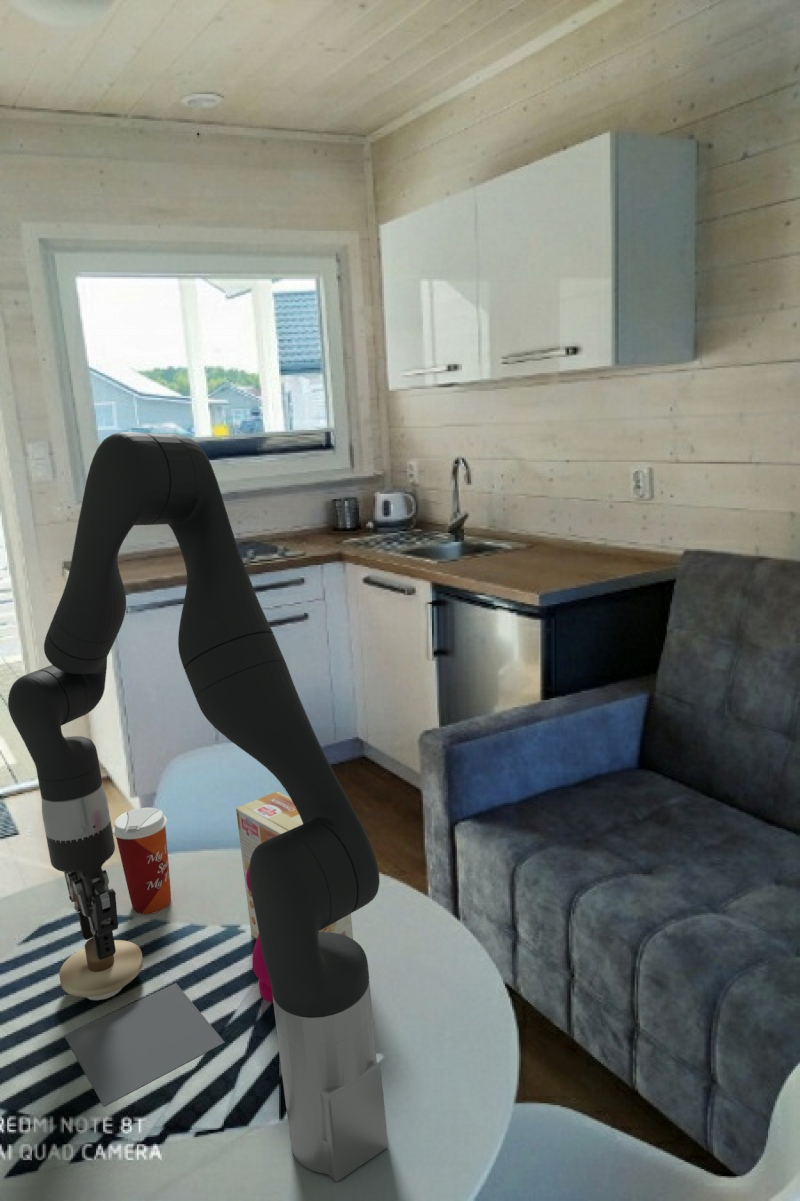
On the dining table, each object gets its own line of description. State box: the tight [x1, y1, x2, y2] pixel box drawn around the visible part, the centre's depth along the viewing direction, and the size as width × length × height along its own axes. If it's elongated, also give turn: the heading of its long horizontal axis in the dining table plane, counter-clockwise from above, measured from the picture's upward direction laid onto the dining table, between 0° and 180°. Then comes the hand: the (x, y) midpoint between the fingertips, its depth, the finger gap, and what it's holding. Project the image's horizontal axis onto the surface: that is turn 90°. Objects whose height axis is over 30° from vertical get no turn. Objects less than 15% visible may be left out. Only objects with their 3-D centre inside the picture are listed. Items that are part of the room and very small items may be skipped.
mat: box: [63, 982, 226, 1107], centre depth 103 cm, size 14×14×1 cm
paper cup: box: [112, 807, 172, 915], centre depth 130 cm, size 8×8×14 cm
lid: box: [58, 938, 144, 998], centre depth 112 cm, size 10×10×4 cm
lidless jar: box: [86, 986, 125, 1001], centre depth 112 cm, size 5×3×5 cm
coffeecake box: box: [235, 791, 354, 940], centre depth 116 cm, size 15×7×20 cm, turn 41°
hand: (98, 945), depth 111 cm, fingers open, 5 cm apart
